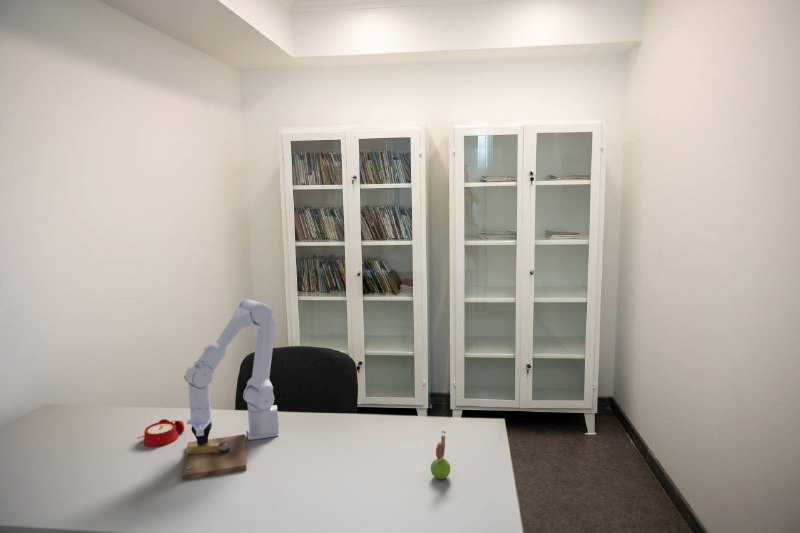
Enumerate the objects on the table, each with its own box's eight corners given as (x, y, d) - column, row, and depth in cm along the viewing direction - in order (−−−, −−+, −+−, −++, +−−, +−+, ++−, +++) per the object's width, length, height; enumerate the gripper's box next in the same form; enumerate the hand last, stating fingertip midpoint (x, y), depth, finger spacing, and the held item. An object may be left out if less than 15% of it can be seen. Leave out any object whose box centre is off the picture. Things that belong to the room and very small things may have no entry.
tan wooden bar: (231, 448, 160) (230, 441, 160) (228, 453, 157) (228, 446, 156) (190, 449, 159) (189, 442, 159) (186, 455, 156) (186, 447, 156)
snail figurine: (453, 472, 148) (453, 431, 146) (447, 484, 142) (447, 442, 140) (434, 469, 150) (434, 429, 148) (428, 481, 144) (428, 439, 142)
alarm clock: (132, 436, 165) (162, 407, 178) (136, 452, 167) (166, 422, 181) (161, 439, 163) (189, 409, 176) (165, 456, 165) (193, 425, 178)
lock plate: (245, 438, 170) (244, 433, 170) (246, 469, 151) (246, 464, 151) (188, 446, 165) (187, 441, 165) (182, 480, 146) (181, 474, 146)
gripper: (187, 397, 163) (190, 439, 165) (183, 417, 150) (186, 461, 152) (212, 394, 165) (214, 435, 167) (209, 413, 152) (212, 458, 154)
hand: (203, 448), depth 160 cm, fingers closed, pressing on tan wooden bar
